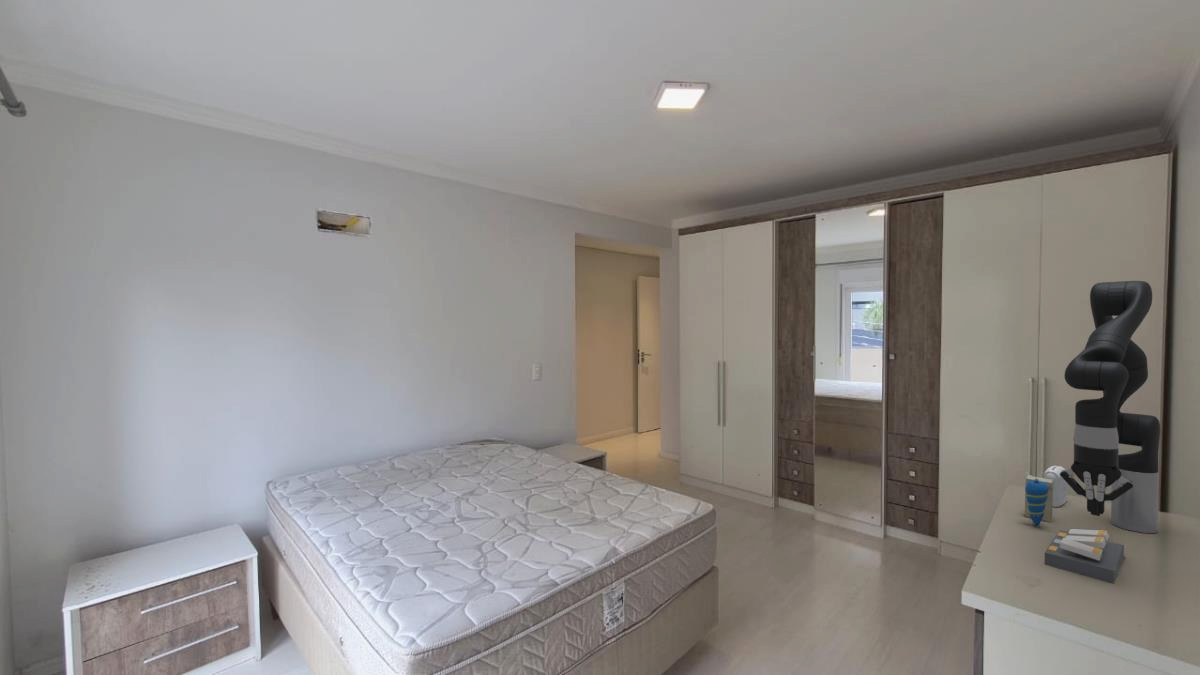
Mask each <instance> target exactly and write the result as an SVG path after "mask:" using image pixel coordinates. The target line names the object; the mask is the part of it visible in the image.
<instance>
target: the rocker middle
mask: <svg viewBox="0 0 1200 675" xmlns="http://www.w3.org/2000/svg"><path fill="white" fill-rule="evenodd" d="M1065 538H1066V539H1069V540H1073V541H1076V542H1079V543H1082V544H1085V545H1088V546H1091V547H1096V548H1104V547H1105V545H1106V542H1105V539H1104V538H1103V537H1086V536H1070V535H1067V536H1066V537H1065Z"/></svg>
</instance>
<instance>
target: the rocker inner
mask: <svg viewBox="0 0 1200 675" xmlns="http://www.w3.org/2000/svg"><path fill="white" fill-rule="evenodd" d="M1068 532H1069V533H1068V534H1069V535H1070V536H1086V537H1103V538H1104V539H1105V541H1108V539H1109V538H1110V535H1109V533H1108V530H1105V529H1099V530H1098V529H1097V530H1096V529H1083V528H1082V529H1081V528H1079V529H1077V528H1070V529H1069V531H1068Z"/></svg>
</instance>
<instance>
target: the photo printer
mask: <svg viewBox="0 0 1200 675" xmlns="http://www.w3.org/2000/svg"><path fill="white" fill-rule="evenodd" d="M1063 470H1066V468H1064V466H1061V465H1060V466H1059V465H1052V466H1049V467H1048V468H1047V469H1046V470H1045V471H1044V474H1043V478H1045V479H1051V480H1053V508H1059V507H1062V506H1063V505H1064V504H1066V503H1067V501H1068V483H1067V482H1066V481H1065V480H1064V479H1063V478H1062V477H1061V476H1060V473H1061V471H1063ZM1066 496H1067V497H1066Z"/></svg>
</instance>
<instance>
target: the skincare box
mask: <svg viewBox="0 0 1200 675" xmlns="http://www.w3.org/2000/svg"><path fill="white" fill-rule="evenodd" d="M1036 477H1037V479H1039V481H1040V482H1043V483H1045V484H1046V485H1047V486H1048V487H1049V491H1048V493H1047V496H1048V498H1047V500H1046V502H1045V504H1046V506H1045V509H1044V516H1043V518H1042V520H1041V521H1045V522H1048V523H1051V522H1052V520H1053V508H1054V507H1053V480H1051V479H1045V478H1044V477H1040V476H1034V475H1026V476H1025V486H1026V485H1027V483H1028V482H1029V481H1034V479H1036ZM1024 491H1025V490H1024ZM1024 494H1025V495H1024V496H1025V497H1024V498H1025V499H1024V517H1026V518H1030V519H1031V517H1030V511H1029V508H1028V505H1029V503H1028V501H1027V499H1026V496H1027V494H1026V491H1025V493H1024Z"/></svg>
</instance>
